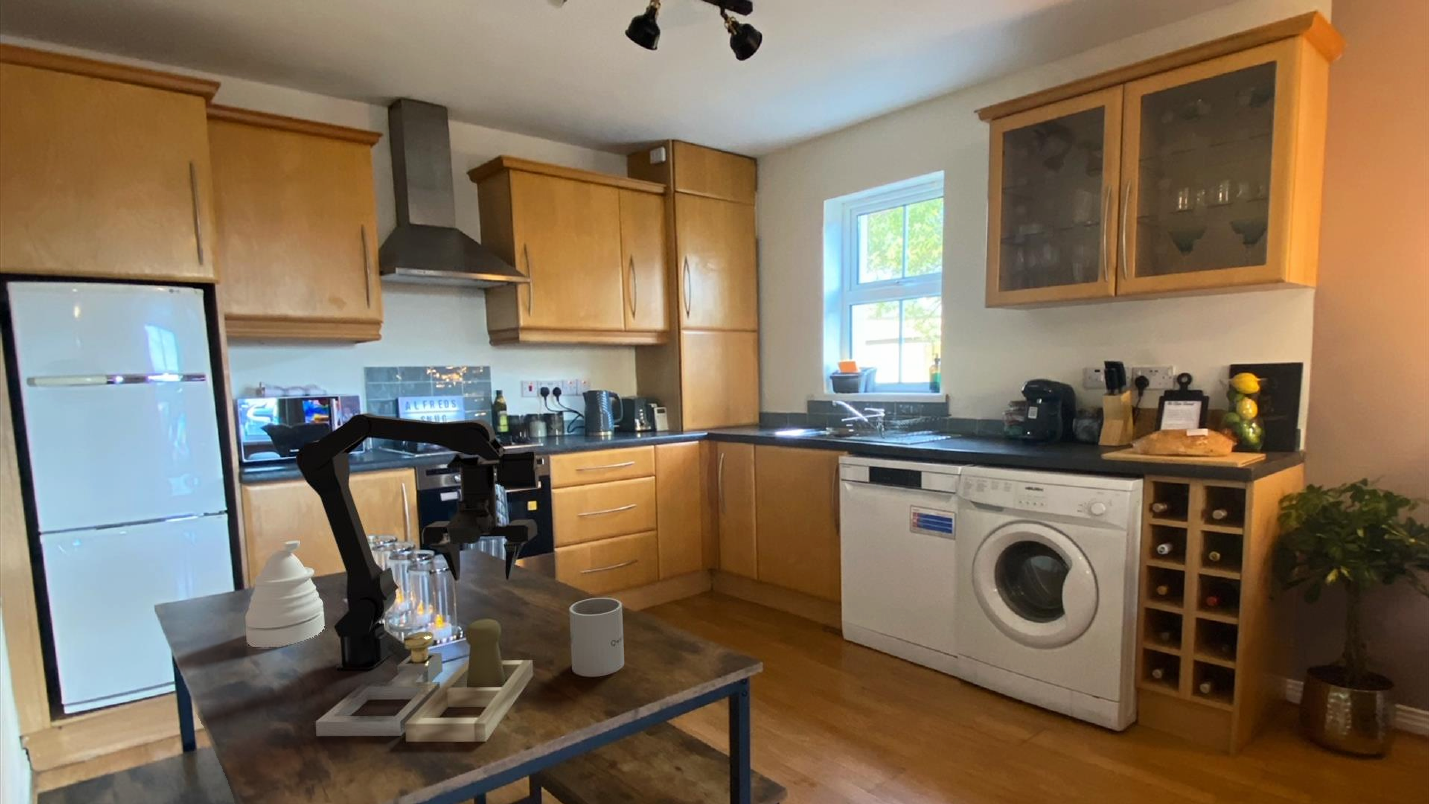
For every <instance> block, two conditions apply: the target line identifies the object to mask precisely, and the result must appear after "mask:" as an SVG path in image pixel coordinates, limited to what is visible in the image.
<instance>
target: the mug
mask: <svg viewBox="0 0 1429 804" xmlns="http://www.w3.org/2000/svg"><path fill="white" fill-rule="evenodd" d="M568 609H569V627H570V629H569V631H570V648H571V649H570V652H571V669H572V672H573V673H574V674H576V675H578V676H582V677H590V678H591V677H602V676H607V675H611V674H614V673H617V672H618V671H620V670H621V669H622V668H623V667H624V666H625V654H624V653H625V651H624V626H623V625H624V623H623V603H622V602H621V601H620V600H618V599H615V598H612V597H611V598H610V597H594V598H593V597H592V598H587V599H584V600H579V601H577V602H575V603H572V604H571V606H570V607H569V608H568Z"/></svg>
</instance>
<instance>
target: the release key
mask: <svg viewBox="0 0 1429 804" xmlns="http://www.w3.org/2000/svg"><path fill="white" fill-rule="evenodd" d="M433 644H434V633H433V632H430V631H417V632H414V633H409V634H408V635H406V636H405V637H404V638H403V645H404V647H403V648H404V649H406V650H410V655H411V664H425V663H426V662H427V661H428V660H429V658H428V653H429V647H430V646H431V645H433Z"/></svg>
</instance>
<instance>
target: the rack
mask: <svg viewBox="0 0 1429 804" xmlns="http://www.w3.org/2000/svg"><path fill="white" fill-rule="evenodd" d="M501 661H502V666H503V671H504V676H505V682H506V683H505V684H504V686H503V687H467V677H468V665H469V660H465V661H464V662H463V663H462V664H461V665H460V666H459V668H457V670H456V671H455V672H454V673H453V674H452V675H451V676H450V677H449V678H448V679H447V680H446V681H445V682H444V683H443V684H441V685H440V688H439V689H438V690H437V691H436V692H435V693H434V694H433V695H432V697H431V698H430V699H429V700H428V701H427V702H426V703H425V704H424V705H423V706H422V707H421V708H420V709H419V710H418V711H417V712H416V713H415V714H414V715H413V716H412V717H411V718H410V719H409V720H408V721H407V722H406V723H405V730H406V731H405V742H406V743H408V742H410V743H413V742H415V743H418V742H419V743H420V742H424V743H425V742H429V743H430V742H431V743H433V742H434V743H435V742H436V743H437V742H441V743H442V742H444V743H445V742H447V743H448V742H449V743H450V742H454V743H455V742H457V743H459V742H461V743H462V742H464V743H465V742H470V743H471V742H472V743H473V742H483V743H484V742H485V743H486V742H487V740H488V739H489V738H490V737H491V735H492V734H493V732H494V731H495V729H497V727H498V726H499V724H500V723H501V721H502V720H503V718H504V717H505V716H506V714H507V713H508V712H509V710H510V708H511V707H512V706H513V704H514V703H515V701H516V700H517V699H518V698H519V696H520V694H521V693H522V692H523V690H524V688H526V686H527V684H528V683H529V682H530V681H531V680H532V678H533V676H534V668H533V665H534V664H533V663H534V662H533V660H532V659H523V660H522V659H521V660H520V659H519V660H518V659H516V660H515V659H514V660H513V659H512V660H505V659H504V660H501ZM448 708H484V710H483V711H482V712H481V714H480V715H479V716H478V717H441V716H442V715H443V713H445V711H446V710H447V709H448Z"/></svg>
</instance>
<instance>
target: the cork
mask: <svg viewBox="0 0 1429 804" xmlns="http://www.w3.org/2000/svg"><path fill="white" fill-rule="evenodd" d="M501 634H502V628H501V625H500V623H499V622H498V621H497V620H495V619H489V618H486V619H485V618H484V619H479V620H476V621H472V622H471V623H469V625H468V626H467V628H466V631H465V640H466V643H467V644H468V646H469V655H468V661H469V665H468V677H467V686H466V687H503V686H504V684H505V683H506V682H507V681H506V680H505V676H504V671H503V666H502V661H503V660H502V657H501V651H500V646H499V640H500V638H501Z"/></svg>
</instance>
